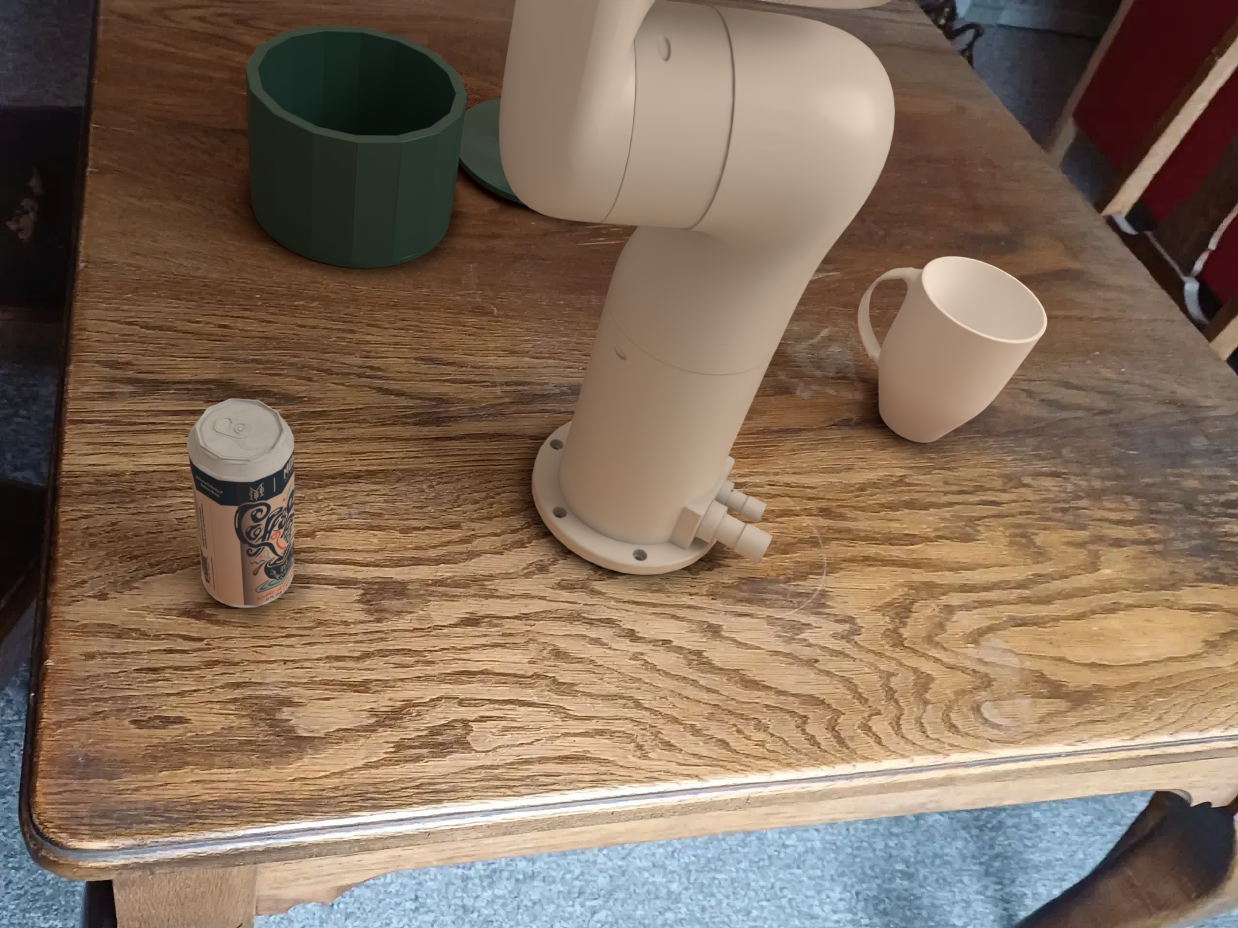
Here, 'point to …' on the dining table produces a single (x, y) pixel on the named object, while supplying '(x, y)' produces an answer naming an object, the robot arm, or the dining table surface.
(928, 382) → the mug
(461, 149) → the tin lid
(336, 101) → the tin
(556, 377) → the dining table surface
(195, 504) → the beer can
